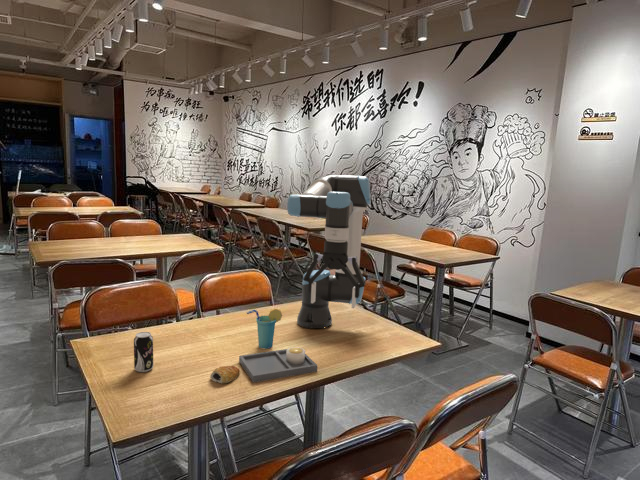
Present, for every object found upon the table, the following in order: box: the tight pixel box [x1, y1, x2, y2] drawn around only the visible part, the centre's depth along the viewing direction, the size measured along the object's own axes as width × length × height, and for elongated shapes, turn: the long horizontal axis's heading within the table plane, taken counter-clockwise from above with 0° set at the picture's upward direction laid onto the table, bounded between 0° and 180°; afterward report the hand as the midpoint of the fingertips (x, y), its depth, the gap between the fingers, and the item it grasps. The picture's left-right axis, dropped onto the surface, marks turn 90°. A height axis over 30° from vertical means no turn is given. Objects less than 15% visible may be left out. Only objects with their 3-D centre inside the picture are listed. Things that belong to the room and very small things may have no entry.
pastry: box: [209, 365, 241, 385], centre depth 140 cm, size 9×7×4 cm
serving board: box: [238, 346, 318, 383], centre depth 149 cm, size 16×22×5 cm
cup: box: [246, 308, 283, 350], centre depth 164 cm, size 14×8×15 cm, turn 125°
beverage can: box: [133, 331, 154, 373], centre depth 142 cm, size 6×6×12 cm
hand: (333, 304), depth 144 cm, fingers open, 13 cm apart
